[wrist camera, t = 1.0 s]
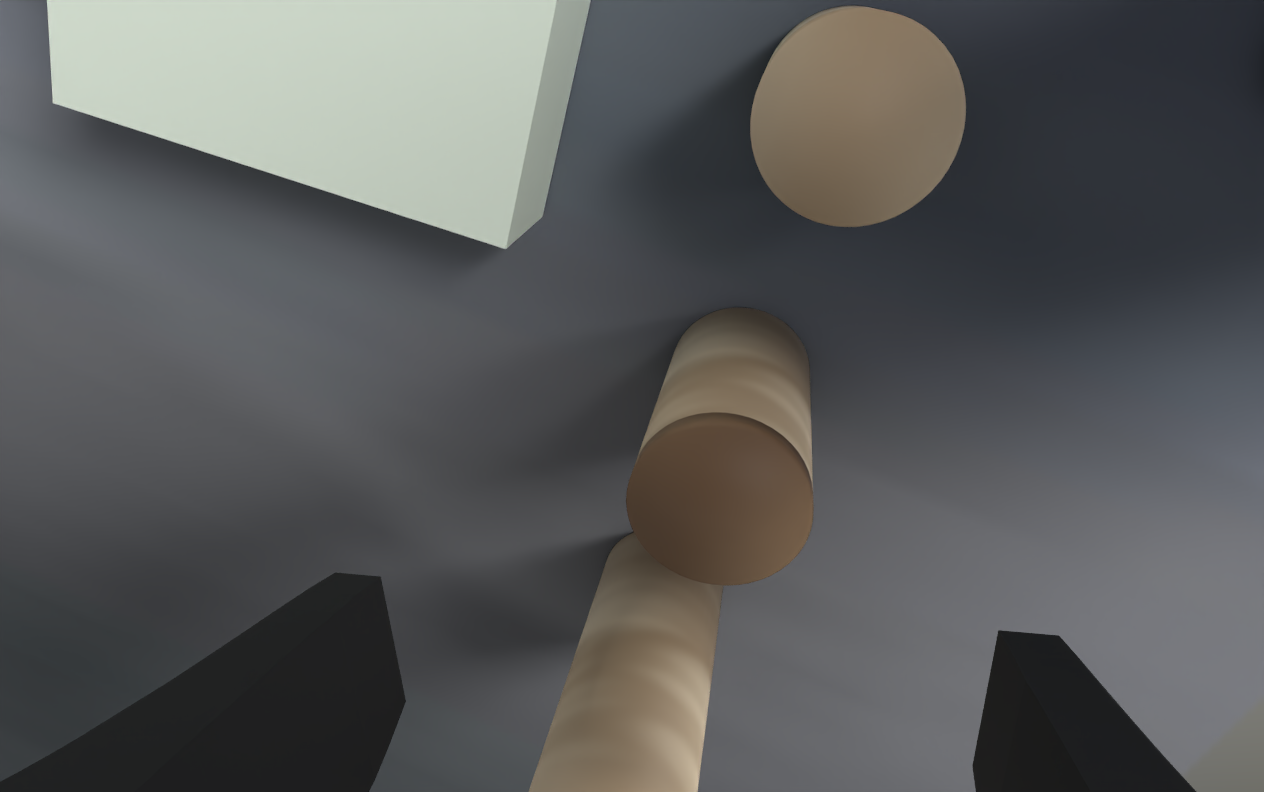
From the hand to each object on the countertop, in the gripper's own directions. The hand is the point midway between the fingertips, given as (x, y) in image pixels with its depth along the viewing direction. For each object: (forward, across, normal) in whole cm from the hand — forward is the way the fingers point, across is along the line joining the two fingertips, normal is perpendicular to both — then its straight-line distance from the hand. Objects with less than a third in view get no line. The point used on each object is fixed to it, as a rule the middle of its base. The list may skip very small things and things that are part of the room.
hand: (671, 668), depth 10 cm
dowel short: (+10, -2, -5) cm, 11 cm away
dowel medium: (+9, 0, 0) cm, 9 cm away
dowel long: (+9, +2, +6) cm, 11 cm away
